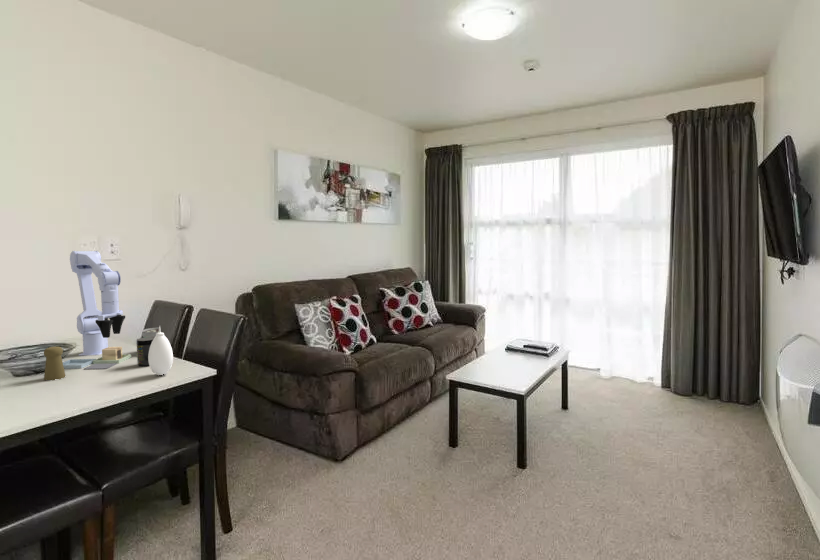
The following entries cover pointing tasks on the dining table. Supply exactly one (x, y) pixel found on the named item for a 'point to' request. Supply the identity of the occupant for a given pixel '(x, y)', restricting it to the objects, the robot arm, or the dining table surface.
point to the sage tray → (100, 361)
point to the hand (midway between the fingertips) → (111, 335)
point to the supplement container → (143, 351)
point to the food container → (150, 332)
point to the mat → (100, 366)
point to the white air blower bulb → (160, 354)
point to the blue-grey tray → (77, 363)
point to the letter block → (112, 353)
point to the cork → (53, 363)
